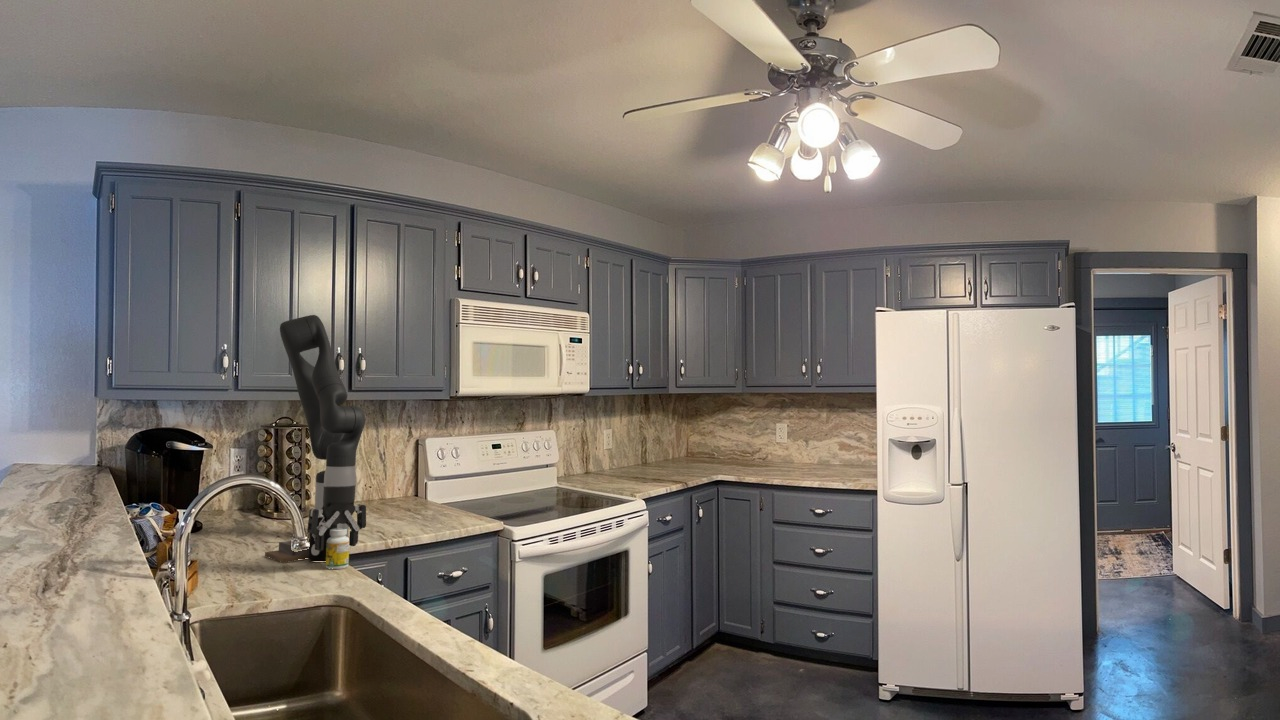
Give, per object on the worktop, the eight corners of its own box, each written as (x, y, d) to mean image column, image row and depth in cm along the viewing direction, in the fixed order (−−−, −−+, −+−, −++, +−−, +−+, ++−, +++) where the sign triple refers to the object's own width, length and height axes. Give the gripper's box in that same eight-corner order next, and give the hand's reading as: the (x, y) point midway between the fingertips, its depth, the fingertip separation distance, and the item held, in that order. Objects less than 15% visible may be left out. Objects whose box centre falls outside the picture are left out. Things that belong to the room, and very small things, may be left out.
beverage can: (337, 561, 185) (339, 515, 186) (310, 564, 181) (312, 517, 182) (333, 557, 190) (335, 512, 191) (306, 559, 187) (309, 513, 188)
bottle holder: (316, 549, 200) (317, 536, 200) (335, 555, 193) (336, 541, 193) (264, 556, 189) (265, 542, 189) (283, 562, 182) (283, 548, 182)
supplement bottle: (351, 567, 178) (353, 529, 179) (330, 570, 175) (332, 531, 175) (343, 564, 182) (345, 526, 183) (322, 567, 178) (323, 529, 179)
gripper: (358, 481, 188) (355, 542, 186) (305, 484, 177) (301, 549, 175) (373, 483, 183) (370, 546, 181) (319, 486, 172) (315, 554, 171)
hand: (336, 548), depth 178 cm, fingers open, 8 cm apart
